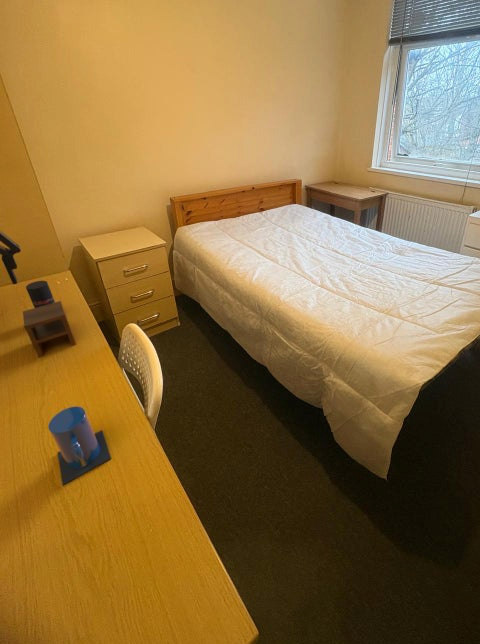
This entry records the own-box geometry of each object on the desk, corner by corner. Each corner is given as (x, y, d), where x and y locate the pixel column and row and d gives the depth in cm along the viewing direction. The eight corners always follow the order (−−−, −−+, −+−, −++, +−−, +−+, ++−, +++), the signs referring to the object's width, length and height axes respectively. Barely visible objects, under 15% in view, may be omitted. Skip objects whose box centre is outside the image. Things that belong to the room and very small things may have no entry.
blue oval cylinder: (65, 453, 72) (46, 417, 67) (97, 436, 76) (82, 401, 70) (70, 484, 66) (51, 447, 61) (105, 464, 70) (89, 428, 64)
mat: (57, 453, 72) (57, 452, 72) (102, 430, 78) (102, 429, 77) (63, 485, 66) (62, 484, 66) (111, 459, 71) (110, 458, 71)
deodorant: (57, 323, 115) (43, 287, 108) (38, 326, 113) (22, 290, 106) (63, 314, 120) (49, 279, 113) (45, 317, 118) (30, 281, 111)
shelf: (36, 341, 106) (22, 311, 101) (71, 329, 112) (60, 300, 106) (38, 357, 99) (24, 326, 94) (76, 344, 105) (64, 314, 100)
